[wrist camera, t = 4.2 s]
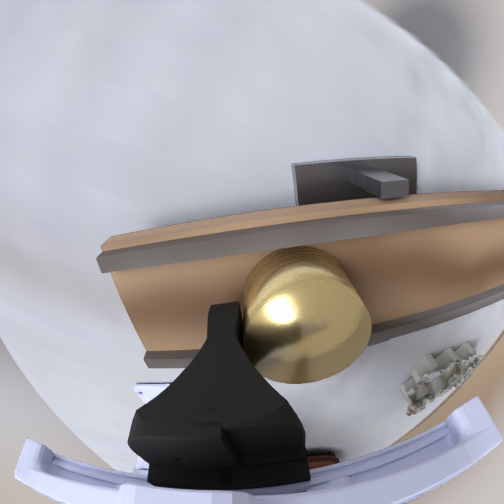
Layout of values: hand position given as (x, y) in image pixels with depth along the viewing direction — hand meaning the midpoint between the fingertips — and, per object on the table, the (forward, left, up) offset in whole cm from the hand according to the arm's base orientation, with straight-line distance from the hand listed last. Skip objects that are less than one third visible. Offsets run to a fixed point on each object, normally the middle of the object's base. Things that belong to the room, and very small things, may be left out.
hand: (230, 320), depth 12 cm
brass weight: (0, -3, -1) cm, 3 cm away
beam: (0, -8, -2) cm, 9 cm away
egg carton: (-19, -21, -6) cm, 29 cm away
